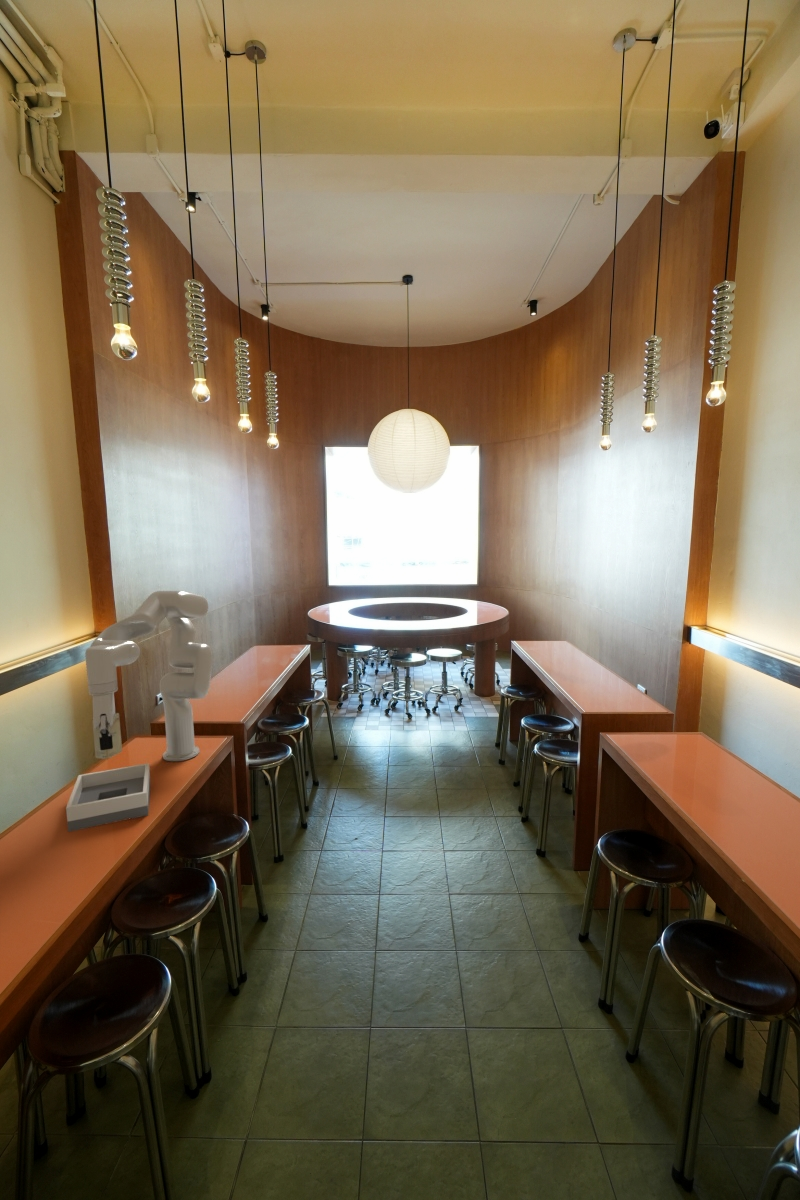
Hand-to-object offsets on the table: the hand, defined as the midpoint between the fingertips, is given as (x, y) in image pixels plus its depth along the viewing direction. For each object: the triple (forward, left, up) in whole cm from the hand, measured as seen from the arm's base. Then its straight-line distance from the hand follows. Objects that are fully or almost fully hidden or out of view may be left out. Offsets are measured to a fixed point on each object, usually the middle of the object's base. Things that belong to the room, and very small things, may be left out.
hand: (108, 743), depth 155 cm
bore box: (0, 0, -20) cm, 20 cm away
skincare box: (0, 0, -4) cm, 4 cm away
